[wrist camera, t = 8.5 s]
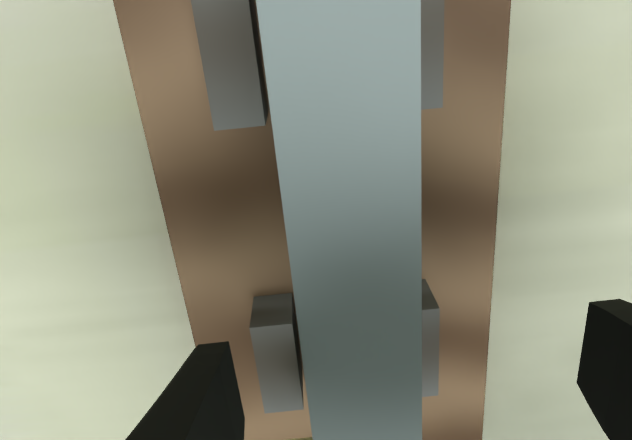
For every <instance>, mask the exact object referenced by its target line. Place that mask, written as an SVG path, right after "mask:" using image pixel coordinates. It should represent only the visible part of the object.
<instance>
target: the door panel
mask: <svg viewBox="0 0 632 440" xmlns="http://www.w3.org/2000/svg"><path fill="white" fill-rule="evenodd" d="M256 5H257V13H258V21H259V29H260V36H261V44H262V52H263V60H264V67H265V75H266V83H267V90H268V98H269V106H270V114H271V121H272V129H273V137H274V145H275V152H276V160H277V168H278V176H279V183H280V191H281V199H282V206H283V214H284V222H285V230H286V237H287V245H288V253H289V261H290V268H291V276H292V284H293V291H294V299H295V307H296V315H297V322H298V330H299V338H300V346H301V353H302V361H303V369H304V377H305V384H306V392H307V400H308V407H309V415H310V423H311V431H312V437H307V438H297V439H288V440H422V242H421V0H256Z"/></svg>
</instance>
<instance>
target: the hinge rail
mask: <svg viewBox="0 0 632 440" xmlns="http://www.w3.org/2000/svg"><path fill="white" fill-rule="evenodd" d="M113 2H114V7H115V11H116V15H117V19H118V23H119V28H120V32H121V36H122V40H123V44H124V48H125V53H126V57H127V61H128V65H129V69H130V74H131V78H132V82H133V86H134V90H135V95H136V99H137V103H138V107H139V111H140V116H141V120H142V124H143V128H144V132H145V137H146V141H147V145H148V149H149V153H150V158H151V162H152V166H153V170H154V174H155V178H156V183H157V187H158V191H159V195H160V199H161V204H162V208H163V212H164V216H165V220H166V225H167V229H168V233H169V237H170V241H171V246H172V250H173V254H174V258H175V262H176V267H177V271H178V275H179V279H180V283H181V288H182V292H183V296H184V300H185V304H186V308H187V313H188V317H189V321H190V325H191V329H192V334H193V338H194V342H195V346H196V347H197V346H198V344H207V343H217V342H226V341H229V345H230V349H231V354H232V359H233V364H234V368H235V373H236V378H237V383H238V388H239V392H240V397H241V402H242V407H243V411H244V416H245V430H244V440H288V439H297V438H307V437H312V431H311V423H310V415H309V407H308V400H307V392H306V384H305V377H304V369H303V361H302V353H301V346H300V338H299V330H298V322H297V315H296V307H295V299H294V291H293V284H292V276H291V268H290V261H289V253H288V245H287V237H286V230H285V222H284V214H283V206H282V199H281V191H280V183H279V176H278V168H277V160H276V152H275V145H274V137H273V129H272V121H271V114H270V106H269V98H268V90H267V83H266V75H265V67H264V60H263V52H262V44H261V36H260V29H259V21H258V13H257V5H256V0H113ZM510 9H511V0H421V242H422V440H482V432H483V417H484V401H485V386H486V371H487V356H488V341H489V326H490V311H491V296H492V281H493V266H494V250H495V235H496V220H497V205H498V190H499V175H500V160H501V145H502V130H503V115H504V100H505V84H506V69H507V54H508V39H509V24H510Z"/></svg>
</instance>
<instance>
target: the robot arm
mask: <svg viewBox="0 0 632 440" xmlns="http://www.w3.org/2000/svg"><path fill="white" fill-rule="evenodd" d="M577 384H578V386H579V388H580V390H581V391H582V393H583V395H584V397H585V399H586V401H587V403H588V405H589V407H590V408H591V410H592V412H593V414H594V415H595V417H596V419H597V421H598V422H599V424H600V426H601V427H602V429H603V431H604V432H605V434H606V435H607V436H608V438H609V439H610V440H632V303H629V302H626V301H624V300H621V299H615V300H606V301H596V302H589V307H588V313H587V320H586V326H585V333H584V339H583V345H582V352H581V358H580V365H579V371H578V378H577ZM244 430H245V416H244V411H243V407H242V402H241V397H240V392H239V388H238V383H237V378H236V373H235V368H234V364H233V359H232V354H231V349H230V345H229V341H226V342H217V343H207V344H198V346H197V347H196V348H195V349H194V350H193V352H192V353H191V354H190V356H189V357H188V358H187V360H186V361H185V362H184V364H183V365H182V367H181V368H180V369H179V371H178V372H177V373H176V375H175V376H174V378H173V379H172V380H171V382H170V383H169V384H168V386H167V387H166V388H165V390H164V391H163V392H162V394H161V395H160V396H159V398H158V399H157V400H156V402H155V403H154V404H153V405H152V407H151V408H150V409H149V411H148V412H147V413H146V414H145V416H144V417H143V418H142V420H141V421H140V422H139V423H138V425H137V426H136V427H135V428H134V430H133V431H132V432H131V433H130V435H129V436H128V437H127V438H126V439H125V440H244Z"/></svg>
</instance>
